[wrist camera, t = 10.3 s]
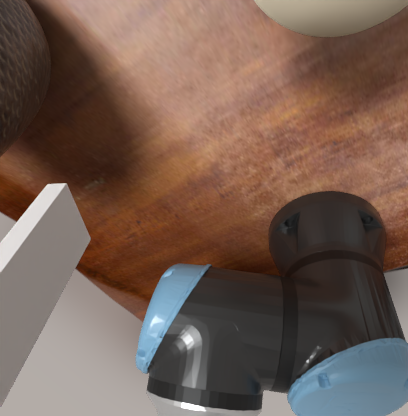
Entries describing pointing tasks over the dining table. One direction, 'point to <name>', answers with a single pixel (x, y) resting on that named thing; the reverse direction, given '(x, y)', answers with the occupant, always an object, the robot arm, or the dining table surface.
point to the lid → (330, 15)
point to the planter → (21, 69)
